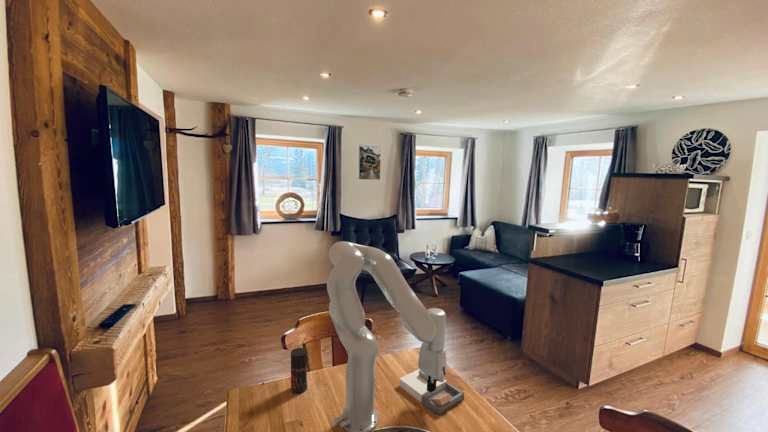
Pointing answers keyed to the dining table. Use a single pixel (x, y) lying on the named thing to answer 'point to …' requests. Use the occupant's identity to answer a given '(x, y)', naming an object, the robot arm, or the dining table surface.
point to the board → (419, 385)
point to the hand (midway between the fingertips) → (431, 390)
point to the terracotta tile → (441, 399)
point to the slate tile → (422, 374)
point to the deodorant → (298, 370)
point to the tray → (439, 409)
